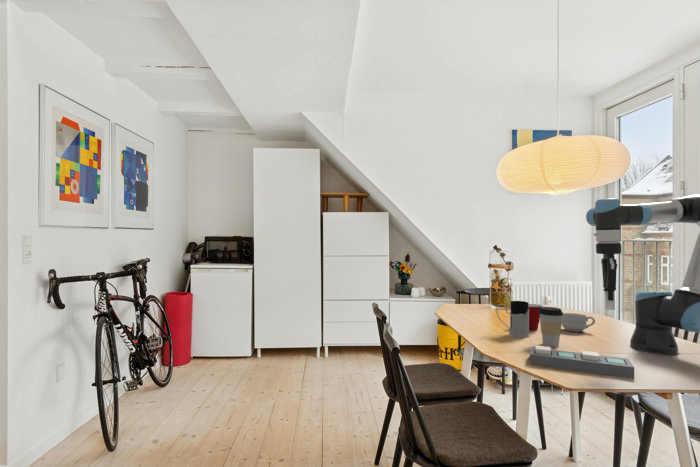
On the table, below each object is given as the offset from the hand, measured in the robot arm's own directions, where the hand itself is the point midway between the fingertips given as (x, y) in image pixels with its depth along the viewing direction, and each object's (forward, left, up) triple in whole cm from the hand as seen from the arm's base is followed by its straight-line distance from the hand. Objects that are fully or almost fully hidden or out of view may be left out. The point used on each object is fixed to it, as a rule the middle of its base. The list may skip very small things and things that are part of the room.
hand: (610, 309), depth 139 cm
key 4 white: (+21, +9, -17) cm, 28 cm away
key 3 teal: (+14, +9, -18) cm, 24 cm away
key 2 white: (+7, +9, -17) cm, 20 cm away
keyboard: (+10, +9, -19) cm, 24 cm away
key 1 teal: (0, +9, -18) cm, 20 cm away
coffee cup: (+18, -17, -19) cm, 32 cm away
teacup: (+6, -50, -19) cm, 54 cm away
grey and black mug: (+33, -28, -19) cm, 48 cm away
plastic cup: (+26, -45, -19) cm, 56 cm away
